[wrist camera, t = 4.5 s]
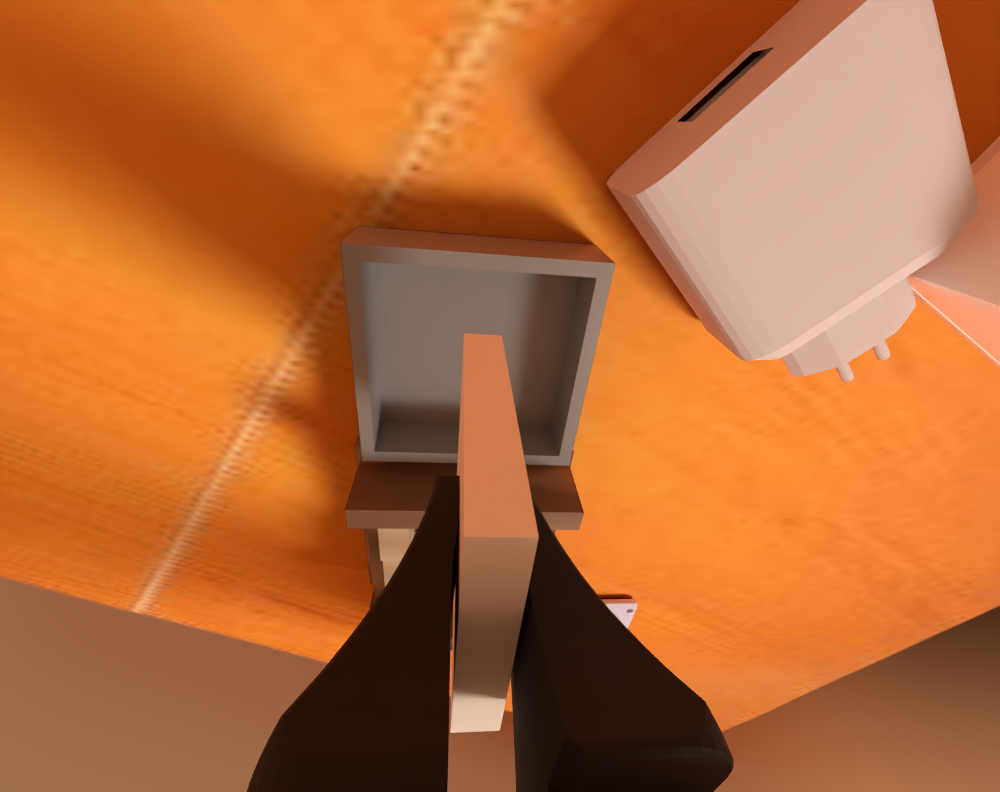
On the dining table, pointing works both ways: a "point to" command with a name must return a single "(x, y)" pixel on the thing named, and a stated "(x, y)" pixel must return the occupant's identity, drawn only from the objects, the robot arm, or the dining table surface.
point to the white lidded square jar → (970, 267)
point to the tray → (475, 310)
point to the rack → (408, 488)
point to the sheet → (489, 539)
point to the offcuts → (393, 548)
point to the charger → (810, 184)
